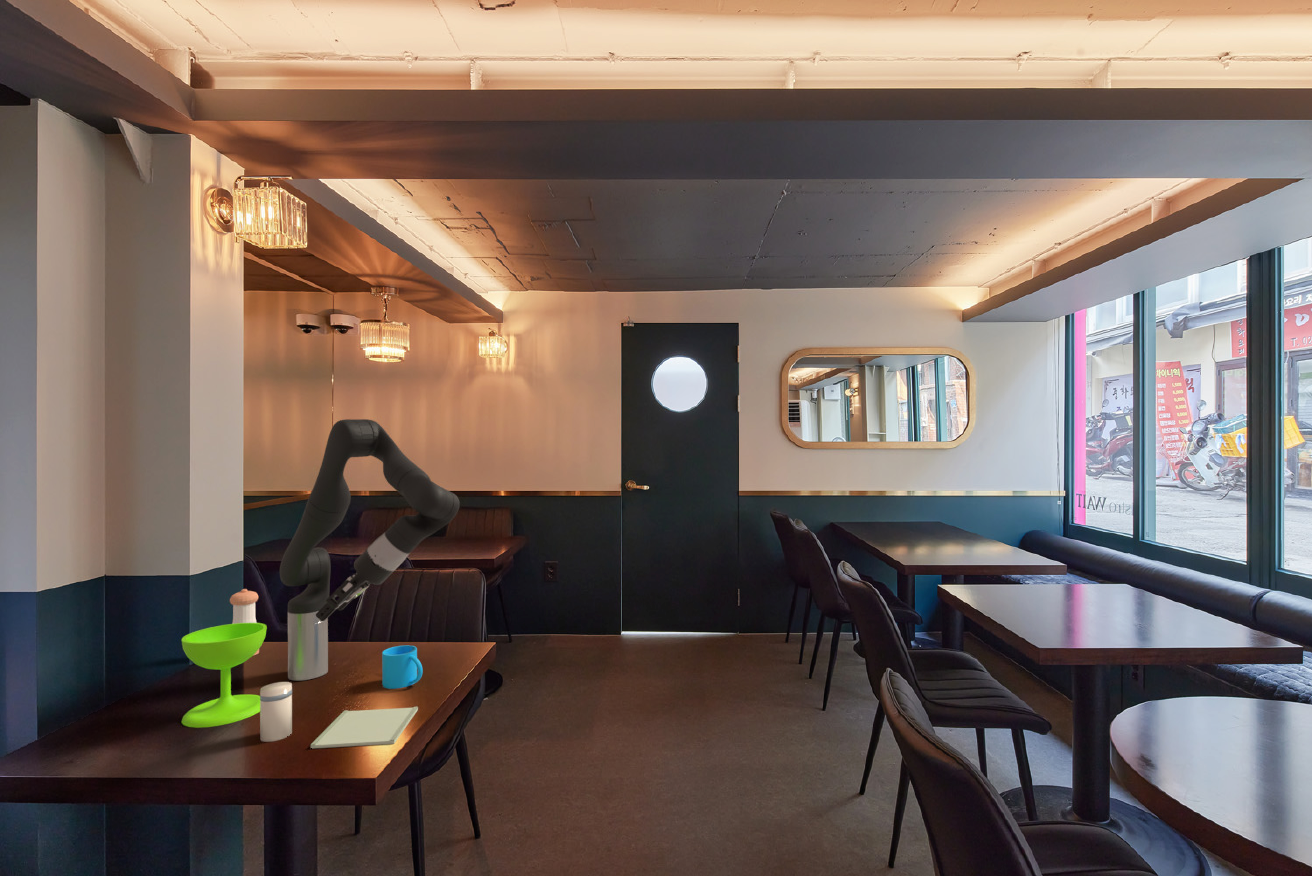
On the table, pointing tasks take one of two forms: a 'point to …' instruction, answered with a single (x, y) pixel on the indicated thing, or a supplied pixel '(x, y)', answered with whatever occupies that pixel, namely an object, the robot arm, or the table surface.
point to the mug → (400, 667)
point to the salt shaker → (244, 607)
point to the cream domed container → (275, 711)
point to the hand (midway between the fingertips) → (328, 613)
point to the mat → (365, 728)
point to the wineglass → (223, 670)
